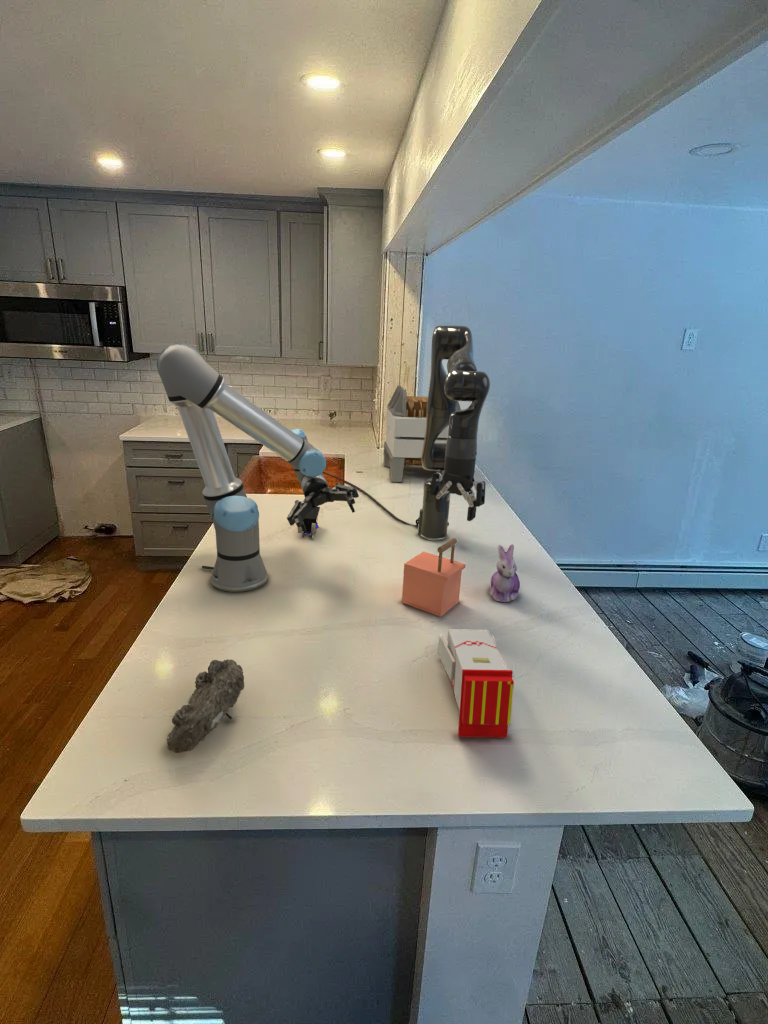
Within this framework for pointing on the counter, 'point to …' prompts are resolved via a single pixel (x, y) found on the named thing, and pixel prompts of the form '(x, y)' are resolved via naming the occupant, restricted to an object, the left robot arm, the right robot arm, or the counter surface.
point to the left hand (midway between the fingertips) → (328, 518)
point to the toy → (478, 682)
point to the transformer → (406, 432)
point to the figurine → (505, 577)
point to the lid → (437, 563)
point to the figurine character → (310, 522)
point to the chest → (430, 591)
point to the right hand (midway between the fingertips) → (455, 516)
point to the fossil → (206, 705)
